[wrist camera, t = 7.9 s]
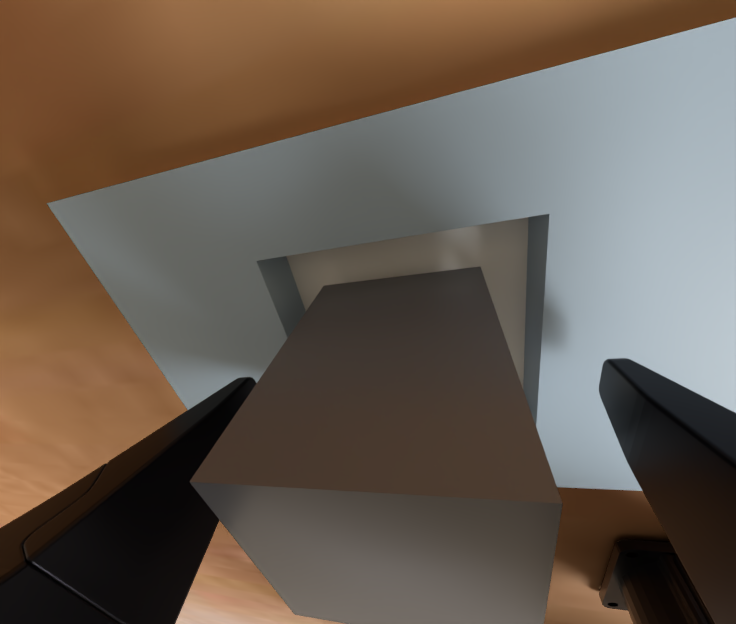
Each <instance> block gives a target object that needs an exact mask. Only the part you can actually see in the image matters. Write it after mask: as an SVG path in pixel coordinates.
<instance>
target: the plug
mask: <svg viewBox="0 0 736 624" xmlns="http://www.w3.org/2000/svg"><path fill="white" fill-rule="evenodd" d="M190 483H191V485H192V486H193V487H194V488H195V490H196V491H197V492H198V493H199V495H200V496H201V497H202V498H203V500H204V501H205V502H206V503H207V505H208V506H209V507H210V509H211V510H212V511H213V512H214V514H215V515H216V516H217V517H218V519H219V520H220V521H221V522H222V524H223V525H224V526H225V527H226V529H227V530H228V531H229V532H230V534H231V535H232V536H233V537H234V539H235V540H236V541H237V542H238V544H239V545H240V546H241V548H242V549H243V550H244V551H245V553H246V554H247V555H248V556H249V558H250V559H251V560H252V561H253V563H254V564H255V565H256V566H257V568H258V569H259V570H260V571H261V573H262V574H263V575H264V576H265V578H266V579H267V580H268V582H269V583H270V584H271V585H272V587H273V588H274V589H275V590H276V592H277V593H278V594H279V595H280V597H281V598H282V599H283V600H284V602H285V603H286V604H287V605H288V607H289V608H290V609H291V610H292V612H293V613H294V614H295V615H300V616H306V617H311V618H317V619H323V620H329V621H335V622H340V623H346V624H544V619H545V613H546V607H547V600H548V594H549V587H550V581H551V575H552V568H553V562H554V556H555V549H556V543H557V537H558V530H559V524H560V517H561V511H562V505H563V503H562V500H561V497H560V494H559V492H558V489H557V486H556V483H555V480H554V477H553V474H552V471H551V468H550V466H549V463H548V460H547V457H546V454H545V451H544V448H543V445H542V442H541V440H540V437H539V434H538V431H537V428H536V425H535V422H534V419H533V417H532V414H531V411H530V408H529V405H528V402H527V399H526V396H525V393H524V391H523V388H522V385H521V382H520V379H519V376H518V373H517V370H516V368H515V365H514V362H513V359H512V356H511V353H510V350H509V347H508V344H507V342H506V339H505V336H504V333H503V330H502V327H501V324H500V321H499V319H498V316H497V313H496V310H495V307H494V304H493V301H492V298H491V295H490V293H489V290H488V287H487V284H486V281H485V278H484V275H483V272H482V269H481V267H480V266H479V267H471V268H463V269H455V270H447V271H439V272H430V273H422V274H414V275H406V276H398V277H390V278H382V279H373V280H365V281H357V282H349V283H341V284H333V285H325V286H323V287H322V289H321V290H320V292H319V293H318V295H317V296H316V298H315V299H314V300H313V302H312V303H311V305H310V306H309V308H308V309H307V311H306V312H305V314H304V315H303V316H302V318H301V319H300V321H299V322H298V324H297V325H296V327H295V328H294V330H293V331H292V333H291V334H290V335H289V337H288V338H287V340H286V341H285V343H284V344H283V346H282V347H281V349H280V350H279V352H278V353H277V354H276V356H275V357H274V359H273V360H272V362H271V363H270V365H269V366H268V368H267V369H266V371H265V372H264V373H263V375H262V376H261V378H260V379H259V381H258V382H257V384H256V385H255V387H254V388H253V390H252V391H251V392H250V394H249V395H248V397H247V398H246V400H245V401H244V403H243V404H242V406H241V407H240V409H239V410H238V411H237V413H236V414H235V416H234V417H233V419H232V420H231V422H230V423H229V425H228V426H227V427H226V429H225V430H224V432H223V433H222V435H221V436H220V438H219V439H218V441H217V442H216V444H215V445H214V446H213V448H212V449H211V451H210V452H209V454H208V455H207V457H206V458H205V460H204V461H203V463H202V464H201V465H200V467H199V468H198V470H197V471H196V473H195V474H194V476H193V477H192V479H191V480H190Z"/></svg>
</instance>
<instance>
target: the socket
mask: <svg viewBox="0 0 736 624" xmlns="http://www.w3.org/2000/svg"><path fill="white" fill-rule="evenodd" d="M47 205H48V206H49V208H50V209H51V211H52V212H53V213H54V215H55V216H56V218H57V219H58V221H59V222H60V224H61V225H62V227H63V228H64V230H65V231H66V233H67V234H68V235H69V237H70V238H71V240H72V241H73V243H74V244H75V246H76V247H77V249H78V250H79V252H80V253H81V254H82V256H83V257H84V259H85V260H86V262H87V263H88V265H89V266H90V268H91V269H92V271H93V272H94V274H95V275H96V276H97V278H98V279H99V281H100V282H101V284H102V285H103V287H104V288H105V290H106V291H107V293H108V294H109V295H110V297H111V298H112V300H113V301H114V303H115V304H116V306H117V307H118V309H119V310H120V312H121V313H122V315H123V316H124V317H125V319H126V320H127V322H128V323H129V325H130V326H131V328H132V329H133V331H134V332H135V334H136V335H137V336H138V338H139V339H140V341H141V342H142V344H143V345H144V347H145V348H146V350H147V351H148V353H149V354H150V356H151V357H152V358H153V360H154V361H155V363H156V364H157V366H158V367H159V369H160V370H161V372H162V373H163V375H164V376H165V377H166V379H167V380H168V382H169V383H170V385H171V386H172V388H173V389H174V391H175V392H176V394H177V395H178V397H179V398H180V399H181V401H182V402H183V404H184V405H185V407H186V408H187V410H189V409H191V408H192V407H194V406H195V405H197V404H198V403H200V402H201V401H203V400H204V399H206V398H208V397H209V396H211V395H212V394H214V393H215V392H217V391H218V390H220V389H221V388H223V387H225V386H226V385H228V384H229V383H231V382H232V381H234V380H235V379H237V378H240V377H252V378H253V379H254V380H255V381H256V383H257V382H258V381H259V379H260V378H261V376H262V375H263V373H264V372H265V371H266V369H267V368H268V366H269V365H270V363H271V362H272V360H273V359H274V357H275V356H276V354H277V353H278V352H279V350H280V349H281V347H282V346H283V344H284V343H285V341H286V340H287V338H288V337H289V335H290V334H291V333H292V331H293V330H294V328H295V327H296V325H297V324H298V322H299V321H300V319H301V318H302V316H303V315H304V314H305V312H306V311H307V309H308V308H309V306H310V305H311V303H312V302H313V300H314V299H315V298H316V296H317V295H318V293H319V292H320V290H321V289H322V287H323V286H325V285H333V284H341V283H349V282H357V281H365V280H373V279H382V278H390V277H398V276H406V275H414V274H422V273H430V272H439V271H447V270H455V269H463V268H471V267H479V266H480V267H481V269H482V272H483V275H484V278H485V281H486V284H487V287H488V290H489V293H490V295H491V298H492V301H493V304H494V307H495V310H496V313H497V316H498V319H499V321H500V324H501V327H502V330H503V333H504V336H505V339H506V342H507V344H508V347H509V350H510V353H511V356H512V359H513V362H514V365H515V368H516V370H517V373H518V376H519V379H520V382H521V385H522V388H523V391H524V393H525V396H526V399H527V402H528V405H529V408H530V411H531V414H532V417H533V419H534V422H535V425H536V428H537V431H538V434H539V437H540V440H541V442H542V445H543V448H544V451H545V454H546V457H547V460H548V463H549V466H550V468H551V471H552V474H553V477H554V480H555V483H556V486H557V487H565V488H588V489H612V490H635V491H642V489H641V487H640V485H639V483H638V482H637V480H636V478H635V476H634V474H633V472H632V470H631V469H630V467H629V465H628V463H627V460H626V458H625V456H624V454H623V451H622V449H621V446H620V444H619V442H618V439H617V437H616V434H615V432H614V429H613V427H612V424H611V422H610V420H609V417H608V415H607V412H606V410H605V407H604V405H603V402H602V400H601V397H600V394H599V383H600V377H601V372H602V366H603V363H604V361H605V360H607V359H614V358H628V359H631V360H633V361H635V362H637V363H639V364H641V365H643V366H645V367H647V368H649V369H651V370H652V371H654V372H656V373H658V374H660V375H662V376H664V377H666V378H668V379H670V380H672V381H674V382H676V383H678V384H680V385H682V386H684V387H686V388H688V389H690V390H692V391H694V392H696V393H698V394H700V395H702V396H704V397H706V398H708V399H709V400H711V401H713V402H715V403H717V404H719V405H721V406H723V407H725V408H727V409H729V410H731V411H733V412H735V413H736V18H732V19H728V20H725V21H721V22H717V23H713V24H710V25H706V26H702V27H699V28H695V29H691V30H688V31H684V32H680V33H676V34H673V35H669V36H665V37H662V38H658V39H654V40H650V41H647V42H643V43H639V44H636V45H632V46H628V47H625V48H621V49H617V50H613V51H610V52H606V53H602V54H599V55H595V56H591V57H587V58H584V59H580V60H576V61H573V62H569V63H565V64H562V65H558V66H554V67H550V68H547V69H543V70H539V71H536V72H532V73H528V74H524V75H521V76H517V77H513V78H510V79H506V80H502V81H499V82H495V83H491V84H487V85H484V86H480V87H476V88H473V89H469V90H465V91H461V92H458V93H454V94H450V95H447V96H443V97H439V98H436V99H432V100H428V101H424V102H421V103H417V104H413V105H410V106H406V107H402V108H398V109H395V110H391V111H387V112H384V113H380V114H376V115H372V116H369V117H365V118H361V119H358V120H354V121H350V122H347V123H343V124H339V125H335V126H332V127H328V128H324V129H321V130H317V131H313V132H309V133H306V134H302V135H298V136H295V137H291V138H287V139H284V140H280V141H276V142H272V143H269V144H265V145H261V146H258V147H254V148H250V149H246V150H243V151H239V152H235V153H232V154H228V155H224V156H221V157H217V158H213V159H209V160H206V161H202V162H198V163H195V164H191V165H187V166H183V167H180V168H176V169H172V170H169V171H165V172H161V173H158V174H154V175H150V176H146V177H143V178H139V179H135V180H132V181H128V182H124V183H120V184H117V185H113V186H109V187H106V188H102V189H98V190H95V191H91V192H87V193H83V194H80V195H76V196H72V197H69V198H65V199H61V200H57V201H54V202H50V203H47Z"/></svg>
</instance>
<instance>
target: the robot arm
mask: <svg viewBox="0 0 736 624" xmlns="http://www.w3.org/2000/svg"><path fill="white" fill-rule="evenodd" d="M256 384H257V383H256V381H255V380H254V379H253V378H252V377H240V378H237V379H235V380H234V381H232V382H231V383H229V384H228V385H226V386H225V387H223V388H221V389H220V390H218V391H217V392H215V393H214V394H212V395H211V396H209V397H208V398H206V399H204V400H203V401H201V402H200V403H198V404H197V405H195V406H194V407H192V408H191V409H189V410H187V411H186V412H184V413H183V414H181V415H180V416H178V417H177V418H175V419H174V420H172V421H170V422H169V423H167V424H166V425H164V426H163V427H161V428H160V429H158V430H157V431H155V432H153V433H152V434H150V435H149V436H147V437H146V438H144V439H143V440H141V441H139V442H138V443H136V444H135V445H133V446H132V447H130V448H129V449H127V450H126V451H124V452H122V453H121V454H119V455H118V456H116V457H115V458H113V459H112V460H110V461H109V462H108V463H106V464H104V465H102V466H101V467H99V468H98V469H96V470H95V471H93V472H91V473H90V474H88V475H87V476H85V477H84V478H82V479H80V480H79V481H77V482H76V483H74V484H72V485H71V486H69V487H68V488H66V489H65V490H63V491H61V492H60V493H58V494H56V495H55V496H53V497H51V498H50V499H48V500H46V501H45V502H43V503H42V504H40V505H38V506H37V507H35V508H33V509H32V510H30V511H28V512H27V513H25V514H23V515H21V516H20V517H18V518H16V519H15V520H13V521H11V522H10V523H8V524H6V525H5V526H3V527H1V528H0V624H175V623H176V620H177V618H178V616H179V613H180V611H181V609H182V606H183V604H184V602H185V599H186V597H187V595H188V592H189V590H190V588H191V585H192V583H193V581H194V578H195V576H196V574H197V571H198V569H199V567H200V564H201V562H202V560H203V557H204V555H205V553H206V550H207V548H208V546H209V543H210V541H211V539H212V536H213V534H214V532H215V529H216V527H217V525H218V522H219V519H218V517H217V516H216V515H215V514H214V512H213V511H212V510H211V509H210V507H209V506H208V505H207V503H206V502H205V501H204V500H203V498H202V497H201V496H200V495H199V493H198V492H197V491H196V490H195V488H194V487H193V486H192V485H191V483H190V480H191V479H192V477H193V476H194V474H195V473H196V471H197V470H198V468H199V467H200V465H201V464H202V463H203V461H204V460H205V458H206V457H207V455H208V454H209V452H210V451H211V449H212V448H213V446H214V445H215V444H216V442H217V441H218V439H219V438H220V436H221V435H222V433H223V432H224V430H225V429H226V427H227V426H228V425H229V423H230V422H231V420H232V419H233V417H234V416H235V414H236V413H237V411H238V410H239V409H240V407H241V406H242V404H243V403H244V401H245V400H246V398H247V397H248V395H249V394H250V392H251V391H252V390H253V388H254V387H255V385H256ZM599 394H600V397H601V400H602V402H603V405H604V407H605V410H606V412H607V415H608V417H609V420H610V422H611V424H612V427H613V429H614V432H615V434H616V437H617V439H618V442H619V444H620V446H621V449H622V451H623V454H624V456H625V458H626V460H627V463H628V465H629V467H630V469H631V470H632V472H633V474H634V476H635V478H636V480H637V482H638V483H639V485H640V487H641V489H642V491H643V493H644V494H645V496H646V498H647V500H648V502H649V504H650V505H651V507H652V509H653V511H654V513H655V515H656V516H657V518H658V520H659V522H660V524H661V526H662V527H663V529H664V531H665V533H666V535H667V537H668V538H669V540H670V542H671V543H667V542H654V541H641V540H620V541H618V542H616V543H615V545H614V548H613V551H612V555H611V558H610V561H609V564H608V567H607V570H606V573H605V577H604V580H603V583H602V586H601V589H600V592H599V596H600V599H601V602H602V605H603V606H605V607H607V608H612V609H620V610H628V611H629V614H630V616H631V619H632V621H633V624H736V413H735V412H733V411H731V410H729V409H727V408H725V407H723V406H721V405H719V404H717V403H715V402H713V401H711V400H709V399H708V398H706V397H704V396H702V395H700V394H698V393H696V392H694V391H692V390H690V389H688V388H686V387H684V386H682V385H680V384H678V383H676V382H674V381H672V380H670V379H668V378H666V377H664V376H662V375H660V374H658V373H656V372H654V371H652V370H651V369H649V368H647V367H645V366H643V365H641V364H639V363H637V362H635V361H633V360H631V359H628V358H614V359H607V360H605V361H604V363H603V366H602V372H601V377H600V383H599Z"/></svg>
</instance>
